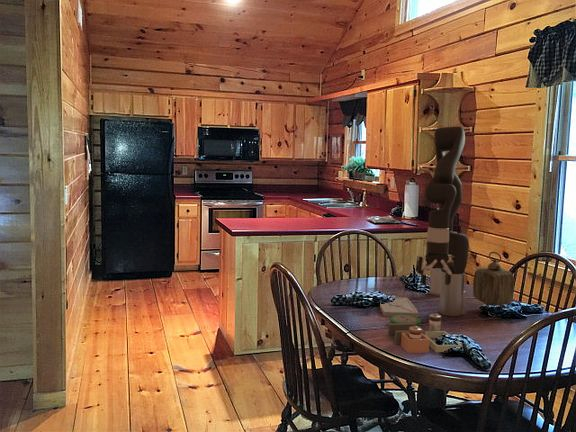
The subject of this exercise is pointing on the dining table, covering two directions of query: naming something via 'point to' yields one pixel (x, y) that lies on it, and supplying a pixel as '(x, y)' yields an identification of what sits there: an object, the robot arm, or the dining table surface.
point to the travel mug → (435, 281)
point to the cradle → (399, 331)
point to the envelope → (399, 308)
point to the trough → (439, 347)
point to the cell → (434, 322)
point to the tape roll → (405, 319)
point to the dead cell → (415, 332)
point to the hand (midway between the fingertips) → (435, 284)
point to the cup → (415, 344)
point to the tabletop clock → (493, 284)
